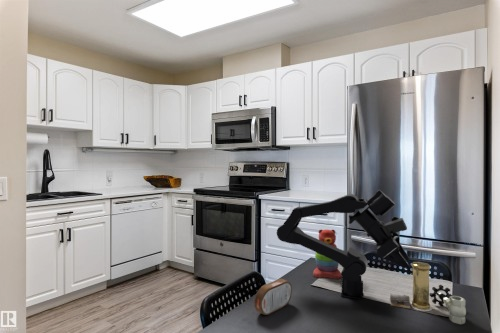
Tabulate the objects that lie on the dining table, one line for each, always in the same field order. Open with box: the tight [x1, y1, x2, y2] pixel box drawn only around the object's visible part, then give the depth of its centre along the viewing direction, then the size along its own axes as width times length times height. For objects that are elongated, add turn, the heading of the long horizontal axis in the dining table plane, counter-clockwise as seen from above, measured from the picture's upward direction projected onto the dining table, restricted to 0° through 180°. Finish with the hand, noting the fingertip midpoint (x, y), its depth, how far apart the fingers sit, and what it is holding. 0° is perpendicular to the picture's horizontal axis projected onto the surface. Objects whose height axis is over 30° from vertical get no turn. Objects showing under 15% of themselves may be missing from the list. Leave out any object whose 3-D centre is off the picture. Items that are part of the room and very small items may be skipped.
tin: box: [253, 278, 293, 316], centre depth 96 cm, size 15×3×8 cm, turn 135°
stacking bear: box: [312, 229, 342, 280], centre depth 126 cm, size 11×10×18 cm
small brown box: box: [389, 293, 411, 309], centre depth 100 cm, size 5×5×3 cm
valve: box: [429, 284, 467, 325], centre depth 93 cm, size 7×7×12 cm
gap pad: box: [409, 301, 433, 312], centre depth 98 cm, size 6×6×1 cm
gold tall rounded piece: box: [411, 261, 431, 310], centre depth 98 cm, size 5×5×13 cm
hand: (408, 263), depth 99 cm, fingers open, 9 cm apart
